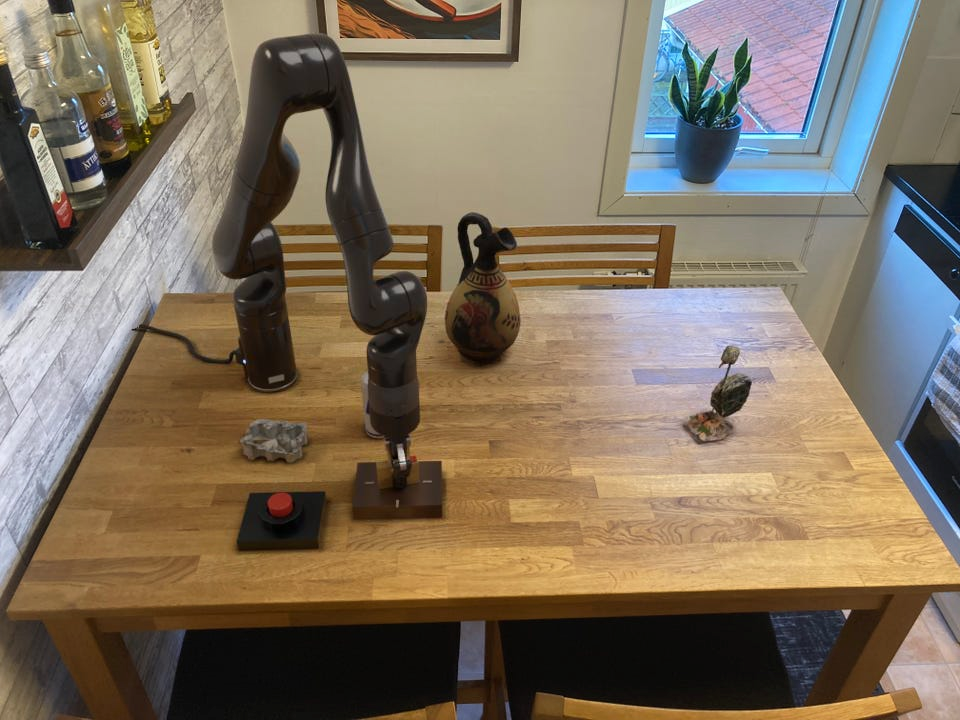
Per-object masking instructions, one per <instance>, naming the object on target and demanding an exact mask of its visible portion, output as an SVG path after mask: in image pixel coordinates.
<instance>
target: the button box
mask: <svg viewBox="0 0 960 720" xmlns="http://www.w3.org/2000/svg"><path fill="white" fill-rule="evenodd" d="M277 493H287V494H289V495H290V496H291V498H292V502H293V510H292V512H291V513H290V514H289V515H287V516H284V517H274V516H272V515H271V514H270V512H269V507H268V500H269V498H270V497H271V496H273V495H274V494H277ZM327 503H328V502H327V493H326V491H325V490H322V491H321V490H320V491H319V490H315V491H314V490H313V491H312V490H311V491H277V492H276V491H275V492H273V491H272V492H269V491H268V492H249V494H248V498H247V502H246V506H245V509H244V513H243V516H242V520H241V523H240V528H239V531H238V535H237V539H236V545H237V548H238V552H242V551H243V552H246V551H247V552H249V551H280V550H283V551H284V550H285V551H287V550H319V549H320V545H321V539H322V534H323V533H322V532H323V527H324V526H323V525H324V522H325V521H324V520H325V514H326V507H327Z"/></svg>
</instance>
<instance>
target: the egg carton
mask: <svg viewBox="0 0 960 720" xmlns="http://www.w3.org/2000/svg"><path fill="white" fill-rule="evenodd" d="M307 425H308V422H306V421H305V422H296V423H294V422H292V421H291V422H289V421H288V420H283V421H282V420H271V419H269V418H268V419H267V418H258V419H256V420H254V421H252V422H250V425H249V426H248V428H247V430H246V431H245V433H244V437H241V439H240V440H238V444H241V447H242V453H243V455H244V456H246V457H247V458H248V460H250V461H253V460H255V459H257V458H258V457H265V458H266V461H267V462H269V461H270V462H271V461H272V462H274V461H276V460H277V459H279V458H282V459H285V460H286V461H285V462H286V463H291V464H292V463H293V462H295V461H296V460H298V459H299V460H300V459H301V458H302V456H303V451H302V447H303V446H306V445H307V443H308V436H307V427H308V426H307ZM254 441H265V442H262V443H255V442H254Z"/></svg>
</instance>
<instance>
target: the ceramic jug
mask: <svg viewBox="0 0 960 720" xmlns="http://www.w3.org/2000/svg"><path fill="white" fill-rule="evenodd" d="M470 225H477V226H478V227H479V229H480V234H478V235H477V236H476V237H475V238H474V239H473V242H472V244H473V246H474V247H475V248H478V253H477V257H476V259H474V255H473V251H472V249H471V242H470V237H469V233H468V229H469V226H470ZM457 241H458V245H459V249H460V254H461V258H462V262H463V268H462V269H461V273H460V276H459V279H458V283H457V284H456V286H455V288H454V289H453V290H452V292H451V294H450V296H449V299H448V301H447V303H446V308H445V313H444V328H445V332H446V335H447V337H448V339H449V341H450V342H451V344H453V346H454V347H455V348H456V349H457V353H458V354H459V356H460V358H461V359H462V360H463V361H466V362H467V363H469V364H470V365H473V366H475V367H484V366H490V365H494V364H497V363H500V362H501V361H502V358H503V356H504V353H505V352H506V351H507V350H508V349H509V348H511V347H512V346H513V345H514V344H515V342H516V340H517V338H518V336H519V332H520V330H521V322H522V321H521V311H520V306H519V301H518V298H517V295H516V292H515V291H514V288H513V287H512V285H511V283H510V281H509V280H508V278H507V276H506V275H505V274H504V272H503V271H502V269H501V268H500V267H499V265H498V263H497V259H496V255H497V254H499V253H503V252H512V251H515V250H516V249H517V248H518V243H517V240H516V237H515V236H514V234H513V232H512V231H511V230H510V229H509V228H508V227H502V228H500V229H499V230H495V231H494V232H493V226H492V224H491V222H490V220H489V218H488V217H486V216H485V215H483V214H481V213H478V212H473V211H471V212H467V214H465V215H462V217H461V218H460V219H459V222H458V224H457Z"/></svg>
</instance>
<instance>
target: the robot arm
mask: <svg viewBox="0 0 960 720" xmlns="http://www.w3.org/2000/svg"><path fill="white" fill-rule="evenodd" d="M250 69H251V70H250V76H249V87H248V95H247V96H248V98H247V107H246V115H245V121H244V127H243V132H242V136H241V141H240V145H239V149H238V153H237V156H236V160H235V164H234V168H233V172H232V177H231V184H230V188H229V191H228V195H227V197H226V202H225V205H224V209H223V211H222V213H221V215H220V218H219V221H218V223H217V224H216V227H215V230H214V231H213V236H212V240H211V252H212V258H213V261H214V264H215V266H216V268H217V270H218V271H219V272H220V274H221V275H223V276H224V277H225V278H227V279H230V280H235V281H236V280H243V279H244V280H243V281H242V282H240V283H239V284H238V285H237V286H236V287H235V289H234V290H233V292H232V304H233V307H234V312H235V318H236V319H235V320H236V323H237V327H238V332H239V333H238V334H239V336H238V338H237V342H238V346H239V347H238V348H236V349H234V350H232V351H230V352H229V355H228V358H227V359H215V358H210V357H207V356H205V355H201V354H199V353H198V352H196V351H195V349H194V346H193V344H192V341H190V339H189V338H187V337H185V336H184V335H182V334H179V333H176V332H174V331H169V330H164V329H161V328H157V327H154V326H151V325H148V324H145V323H143V324H142V323H139V324H140V325H139V328H138V327H137V328H136V329H135V330H137V329H146V330H148V331H152V332H154V333H158V334H161V335H166V336H170V337H174V338H177V339H179V340H181V341H183V342H184V343H186V345H187V347H188V349H189V352H190V354H192V356H194V357H195V358H197V359H199V360H201V361H204V362H207V363H211V364H229V363H231V362H232V361H233V359H234V357H235V362H236V364H238V365H240V366H242V367H243V371H244V376H245V379H247V380H248V385H249V386H250V387H251V388H252V389H254V390H255V391H257V392H262V393H275V392H276V393H277V392H280V391H284V390H286V389H288V388H290V387H292V386H293V385H294V384H295V383H296V381H298V380H297V379H298V376H299V374H298V369H297V364H296V357H295V351H294V345H293V344H294V343H293V338H292V337H293V336H292V331H291V325H290V319H289V313H288V312H289V311H288V306H287V300H286V293H287V279H286V273H285V272H286V271H285V258H284V249H283V245H282V240H281V238H280V235H279V232H278V230H277V228H276V226H275V225H274V224H273V221H274V220H275V219H276V218H277V217H278V216H280V214H281V213H282V212H283V211H284V210H285V209H286V207H287V206H288V205H289V203H290V202H291V200H292V198H293V195H294V193H295V191H296V188H297V184H298V181H299V178H300V174H301V161H300V157H299V155H298V153H297V151H296V148H295V147H294V145H293V144H292V142H291V141H290V140H289V138H288V136H287V135H286V134H285V133H284V129H285V125H286V123H287V121H288V120H289V119H290V118H291V116H293V115H296V114H303V113H309V112H313V111H317V110H322V111H323V113H324V116H325V118H326V121H327V124H328V127H329V132H330V139H331V140H330V143H331V144H330V145H331V146H330V147H331V148H330V158H329V166H328V171H327V177H326V182H325V183H326V185H325V193H324V194H325V196H324V197H325V207H326V212H327V216H328V219H329V222H330V225H331V227H332V230H333V233H334V235H335V239H336V241H337V244H338V246H339V249H340V251H341V255H342V259H343V260H342V261H343V265H344V272H345V273H344V274H345V279H346V292H347V303H348V310H349V314H350V317H351V319H352V321H353V324H354V325H355V326H356V327H357V328H358V329H359V330H360V331H361V333H362V332H363V333H364V334H365V335H369V336H371V338H370V340H368V342H367V345H366V351H365V352H366V365H367V371H368V400H369V413H370V423H371V426H372V428H373V429H374V430H375V431H376V432H377V433H379V434H381V435H383V438H382V439H383V446H384V450H385V452H386V459H387V460H388V463H389V464H391V472H392V482H393V488H394V489H400V488H405V487H406V486H407V477H409V476H410V472H411V465H412V462H411V460H410V456H411V450H410V449H411V448H410V447H411V446H412V439H411V433H412V432H414V431H415V430H416V429H417V428H418V426H419V425H420V421H421V407H420V406H421V405H420V404H421V403H420V402H421V401H420V384H419V383H420V382H419V377H418V365H417V349H418V346H419V343H420V339H421V336H422V332H423V328H424V325H425V322H426V317H427V312H428V295H427V290H426V288H425V285H424V284H423V282H422V280H421V279H420V277H418V276H417V275H416V274H414V273H413V272H411V271H408V270H399V271H396V272H393V273H390V274H388V275H385V276H382V277H379V278H376V279H374V269H375V265H376V264H377V263H378V262H379V261H380V260H382V259H384V258H385V257H387V256H388V255H390V254H391V253H392V252H393V251H394V247H395V244H394V240H393V236H392V233H391V231H390V228H389V225H388V221H387V219H386V217H385V213H384V211H383V208H382V205H381V203H380V200H379V197H378V194H377V191H376V188H375V185H374V182H373V179H372V174H371V171H370V167H369V163H368V158H367V153H366V148H365V143H364V138H363V133H362V127H361V122H360V118H359V113H358V109H357V108H358V107H357V104H356V100H355V95H354V91H353V85H352V81H351V77H350V74H349V73H350V72H349V69H348V66H347V63H346V61H345V58H344V55H343V53H342V51H341V49H340V46H339V45H338V44H337V42H336V41H335V40H334V39H333V38H332V37H331V36H330V35H328V34H326V33H321V32H318V33H317V32H315V33H305V34H304V33H303V34H298V35H291V36H282V37H280V36H279V37H273V38H271V39H267V40H264V41H263V42H261V43H260V44H259V45H258V46H257V48H256V50H255V52H254V55H253V58H252V62H251V68H250Z"/></svg>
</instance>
